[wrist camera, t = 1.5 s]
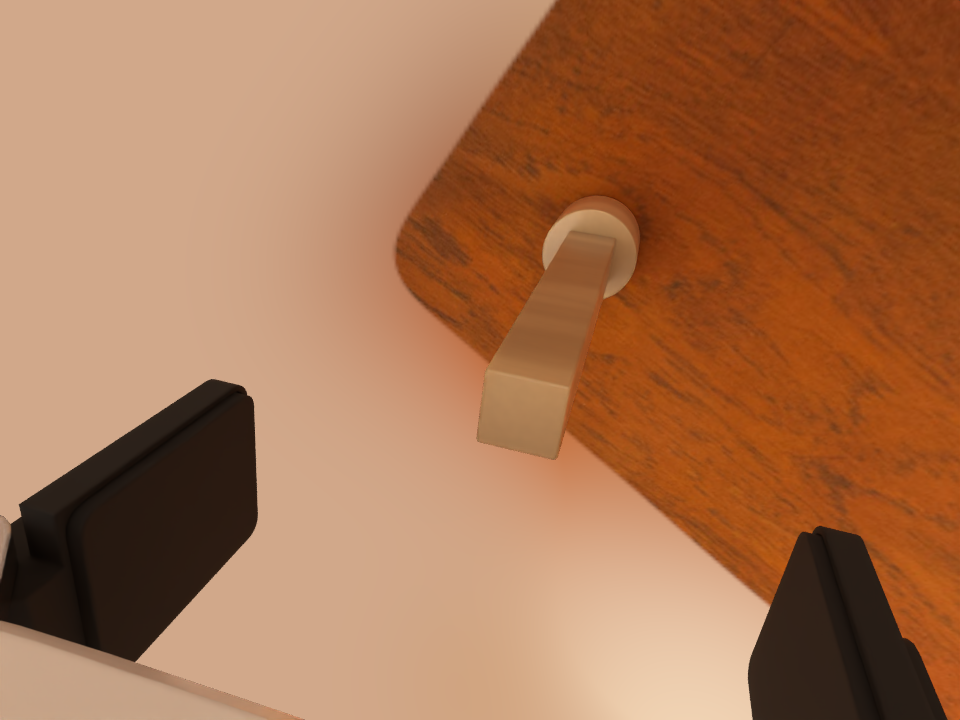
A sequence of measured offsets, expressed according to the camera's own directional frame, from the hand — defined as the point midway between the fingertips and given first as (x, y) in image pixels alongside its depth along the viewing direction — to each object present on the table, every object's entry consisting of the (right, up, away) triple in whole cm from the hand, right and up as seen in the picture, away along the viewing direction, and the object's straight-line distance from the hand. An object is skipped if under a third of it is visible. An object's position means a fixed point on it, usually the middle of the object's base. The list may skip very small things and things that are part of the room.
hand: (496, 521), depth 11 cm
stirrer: (+5, +8, +17) cm, 19 cm away
